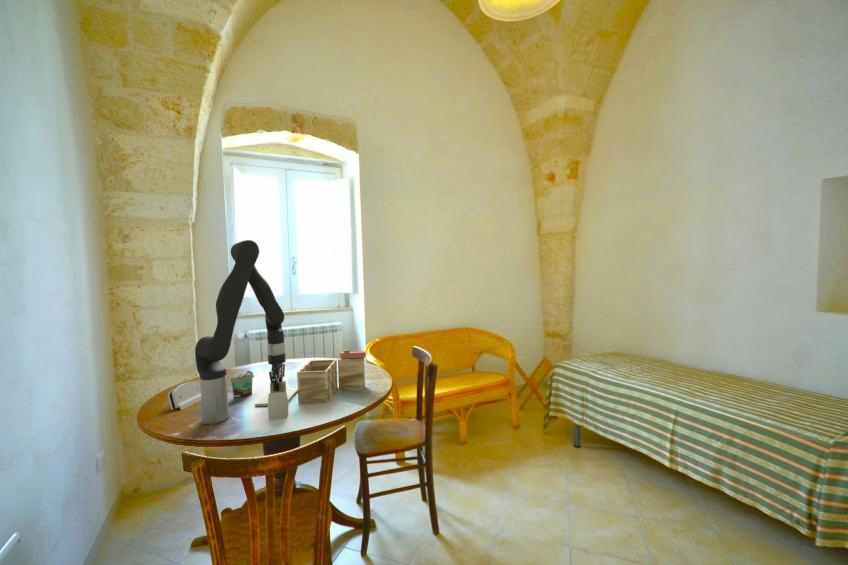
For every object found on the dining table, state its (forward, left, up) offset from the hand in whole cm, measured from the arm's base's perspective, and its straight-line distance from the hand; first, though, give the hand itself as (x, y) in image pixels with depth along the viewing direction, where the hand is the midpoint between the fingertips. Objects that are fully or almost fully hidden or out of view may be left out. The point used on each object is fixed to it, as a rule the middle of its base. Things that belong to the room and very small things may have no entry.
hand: (278, 389), depth 173 cm
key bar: (+10, -33, +11) cm, 36 cm away
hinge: (-2, +40, -4) cm, 40 cm away
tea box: (-22, -8, -4) cm, 24 cm away
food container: (+5, +17, -4) cm, 18 cm away
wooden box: (+2, -25, -4) cm, 25 cm away
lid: (0, 0, -4) cm, 4 cm away
